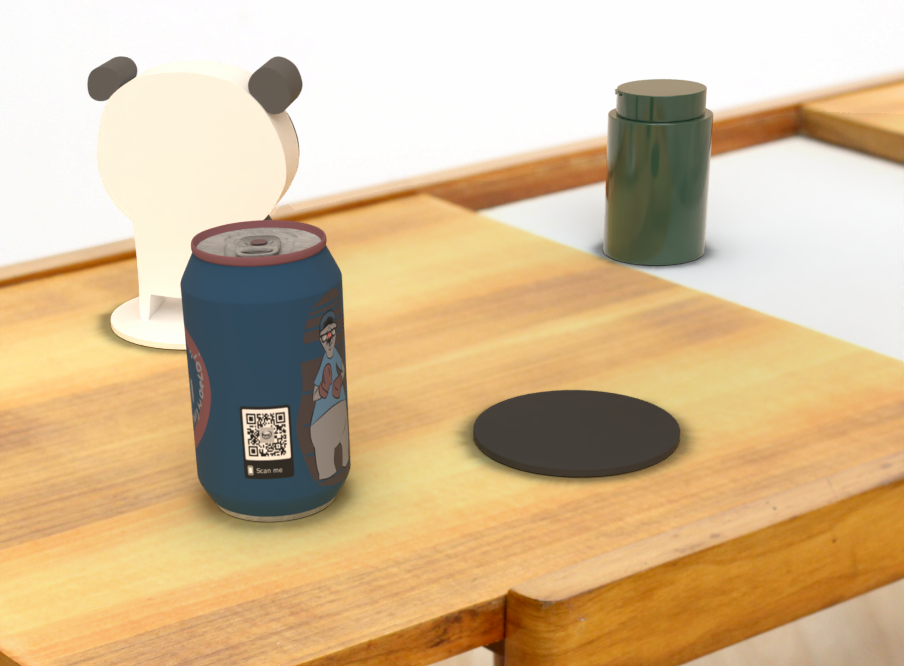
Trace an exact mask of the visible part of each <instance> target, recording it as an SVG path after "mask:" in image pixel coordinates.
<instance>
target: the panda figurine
mask: <svg viewBox="0 0 904 666" xmlns="http://www.w3.org/2000/svg"><path fill="white" fill-rule="evenodd" d="M86 86H87V92H88V95H89V97H90V98H91V99H92V100H93V101H96V102H105V101H106V103H105V105H104V108H103V109H102V110H103V111H102V114H101V117H100V121H99V125H98V132H97V137H96V138H97V139H96V164H97V169H98V174H99V177H100V180H101V183H102V186H103V188H104V190H105V191H106V193H107V195H108V197H109V198H110V200H111V202H112V203H113V205H114V206H115V207H116V208H117V209H118V210H119V212H121V214H123V215H124V216H125V217H126V218H128V219H129V220H131V222H132V227H133V236H134V246H135V255H136V265H137V277H138V278H137V279H138V296H136V297H134V298H132V299H129V300H127V301H126V302H123V303H122V304H120V305H119V306H118V307H117V308H115V310H114V311H113V312H112V314H111V315H110V325H111V330H112V331H113V332H114V334H115V335H116V336H118V337H120V338H121V339H123V340H125V341H127V342H130V343H132V344H136V345H140V346H145V347H149V348H155V349H156V348H157V349H165V350H183V351H184V350H185V351H186V342H185V331H184V320H183V309H182V297H181V286H180V282H181V279H182V276H183V273H184V271H185V268H186V266H187V264H188V261H189V259H190V256H191V254H192V250H191V241H192V239H193V237H194V236H195V235H197V234H198V233H200V232H202V231H205V230H207V229H210V228H214V227H217V226H221V225H226V224H231V223H237V222H245V221H256V220H273V218H272V217H271V216H270V213H271V212H272V211H273V210H274V208H276V206H277V205H278V203H279V202H280V201H281V200H282V199H283V197H284V196H285V195H286V193H287V192H288V191H289V189H290V187H291V186H292V184H293V181H294V180H295V177H296V174H297V172H298V170H299V163H300V142H299V137H298V134H297V129H296V127H295V125H294V122H293V120H292V118H291V116H290V115H289V113H288V112H287V109H288V108H289V107H290V106H291V105H292V104H293V103H294V101H296V100H297V99H298V98H299V96H300V94H301V93H302V91H303V86H304V85H303V79H302V75H301V73H300V70H299V68H298V67H297V65H296V64H295V63H294V62H293V61H291V60H290V59H288V58H286V57H283V56H279V55H277V56H273V57H271V58H270V59H268V60H267V61H266V62H265V63H264V64H263V65H261V66H259V68H258V69H256V70H255V71H254V72H253V73H252V72H250V71H248V70H247V69H245V68H242V67H240V66H237V65H233V64H230V63H224V62H220V61H213V60H202V59H201V60H200V59H199V60H198V59H197V60H196V59H194V60H181V61H179V60H178V61H172V62H167V63H161V64H158V65H155V66H152V67H150V68H148V69H146V70H144V71H143V72H142V73H140V74H139V75H138V66H137V64H136V62H135V61H134V60H133V59H132V58H131V57H128V56H115V57H113V58H110V59H108V60H106V61H105V62H104V63H102V64H100V65H99V66H97V67H95V68H93V69H92V70H91V71H90V72H89V74H88V77H87V85H86Z"/></svg>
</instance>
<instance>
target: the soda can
mask: <svg viewBox="0 0 904 666" xmlns="http://www.w3.org/2000/svg"><path fill="white" fill-rule="evenodd" d="M327 241H328V239H327V234H326V232H325V231H324V230H323V229H322V228H320V227H318V226H316V225H312V224H310V223H305V222H301V221H293V220H285V219H272V220H256V221H245V222H237V223H231V224H226V225H221V226H217V227H214V228H210V229H207V230H205V231H202V232H200V233H198V234H197V235H195V236H194V237H193V239H192V241H191V250H192V254H191V256H190V259H189V261H188V264H187V266H186V268H185V271H184V273H183V276H182V279H181V282H180V286H181V297H182V309H183V320H184V331H185V342H186V350H185V351H186V352H185V353H186V362H187V375H188V383H189V396H190V397H189V398H190V406H191V407H190V409H191V417H192V430H193V439H194V440H193V441H194V448H195V449H194V451H195V452H194V453H195V462H196V472H197V473H196V474H197V478H198V480H199V483H200V484H201V486H202V488H203V489H204V491H205V492H206V493H207V494H208V496H209V497H210V498H211V500H212V501H213V503H215V505H216V506H217V507H218V508H219V510H221V511H222V512H224V513H225V514H228V515H229V516H231V517H234V518H237V519H240V520H246V521H250V522H252V521H253V522H262V523H264V522H265V523H268V522H270V523H273V522H274V523H275V522H286V521H292V520H297V519H301V518H306V517H309V516H312V515H314V514H317V513H319V512H321V511H323V510H324V509H325V508H327V507H329V506H330V505H331V504H332V503H333V502H334V501H335V499H336V497H337V496H338V494H339V492H340V490H341V489H342V487H343V485H344V484H345V482H346V480H347V478H348V476H349V474H350V470H351V466H352V464H351V444H350V422H349V399H348V378H347V374H348V373H347V353H346V332H345V310H344V291H343V289H344V288H343V274H342V271H341V268H340V267H339V265H338V263H337V261H336V260H335V258H334V256H333V254H332V253H331V251H330V249H329V247H328V246H327Z"/></svg>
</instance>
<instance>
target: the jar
mask: <svg viewBox="0 0 904 666" xmlns="http://www.w3.org/2000/svg"><path fill="white" fill-rule="evenodd" d="M614 94H615V95H616V100H615V101H616V102H615V104H616V105H615V108H613V109H611V110H609V111H608V113H607V129H606V130H607V131H606V133H607V134H606V157H605V158H606V163H605V187H604V189H605V191H604V214H603V218H604V219H603V242H602V243H603V246H602V247H603V248H602V251H603V253H604V254H605V255H606V256H607V257H609V258H610V259H613V260H615V261H619V262H621V263H626V264H631V265H641V266H671V265H679V264H686V263H689V262H692V261H695V260H697V259H700V258H701V257H702V256H703V255H704V253H705V249H706V247H705V246H706V234H707V220H708V219H707V218H708V204H709V185H710V173H711V158H712V142H713V141H712V140H713V128H714V127H713V126H714V125H713V124H714V112H713V110H711V109H709V108H706V107H707V96H708V95H707V94H708V87H707V85H705V84H703V83H702V82H698V81H693V80H686V79H678V78H677V79H675V78H674V79H673V78H653V79H652V78H651V79H650V78H649V79H639V80H633V81H628V82H627V81H626V82H624V83H621V84H619V85H617V87H616V88H614Z"/></svg>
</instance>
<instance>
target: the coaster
mask: <svg viewBox="0 0 904 666" xmlns="http://www.w3.org/2000/svg"><path fill="white" fill-rule="evenodd" d="M472 429H473V432H472V435H473V441H474V443H475V445H476V447H477V448H478V449H479V450H480V451H481V452H482V453H483V454H485V455H486V456H488V457H489V458H490V459H492V460H495V461H496V462H498V463H499V464H503V465H505V466H507V467H510V468H513V469H517V470H521V471H525V472H528V473H533V474H540V475H545V476H555V477H567V478H569V477H571V478H593V477H606V476H614V475H621V474H626V473H631V472H635V471H639V470H642V469H645V468H649V467H651V466H653V465H656V464H658V463H660V462H662V461H663V460H665V459H667V458H668V457H669V456H671V455H672V454H673V453H674V452H675V451H676V449H677V448H678V446H679V443H680V440H681V428H680V425H679V423H678V421H677V419H676V418H675V417H674V416H673V415H672V414H670V412H668V411H667V410H665V409H664V408H662V407H660V406H658V405H656V404H654V403H651V402H649V401H647V400H645V399H644V400H643V399H640V398H638V397H634V396H630V395H626V394H620V393H615V392H608V391H602V390H588V389H587V390H586V389H557V390H546V391H539V392H537V391H536V392H532V393H526V394H522V395H517V396H513V397H509V398H507V399H504V400H501V401H499V402H497V403H495V404H493V405H491V406H489V407H487V408H486V409H485V410H483V411H482V412H480V414H479V415H478V416H477V417H476V419H475V421H474V423H473V428H472Z"/></svg>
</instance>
